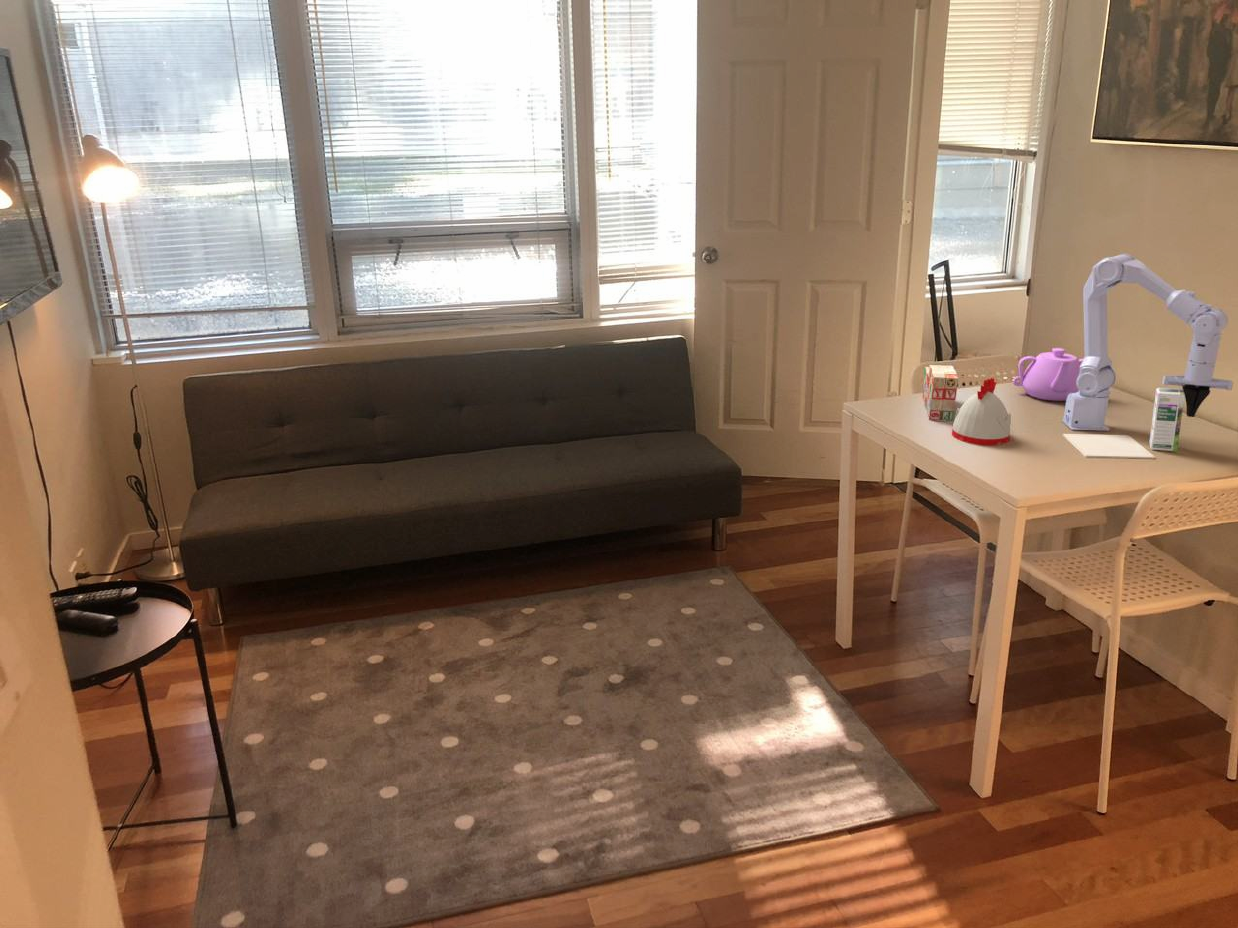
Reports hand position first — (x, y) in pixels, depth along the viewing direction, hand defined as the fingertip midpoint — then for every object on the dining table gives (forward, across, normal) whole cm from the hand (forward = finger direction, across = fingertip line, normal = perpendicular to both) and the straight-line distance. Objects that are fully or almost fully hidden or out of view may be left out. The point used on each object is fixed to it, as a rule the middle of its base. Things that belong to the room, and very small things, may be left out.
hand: (1190, 415), depth 235 cm
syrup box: (+8, +5, +1) cm, 10 cm away
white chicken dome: (+9, +47, +5) cm, 48 cm away
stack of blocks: (+9, +58, -16) cm, 61 cm away
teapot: (+9, +27, -36) cm, 46 cm away
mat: (+8, +17, +4) cm, 20 cm away
